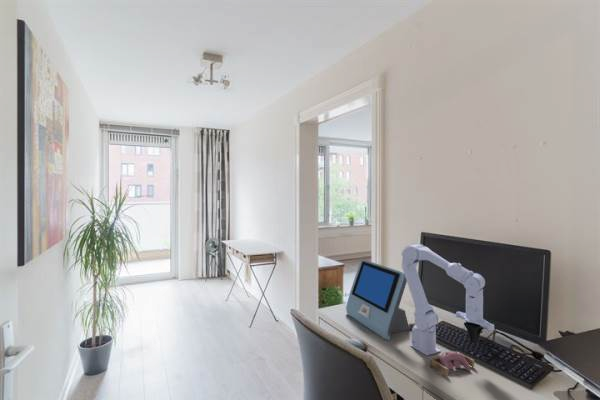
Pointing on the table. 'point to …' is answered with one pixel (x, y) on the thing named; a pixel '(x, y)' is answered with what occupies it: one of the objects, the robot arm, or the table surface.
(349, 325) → the table surface
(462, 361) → the video game controller
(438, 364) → the docking cradle
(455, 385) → the table surface
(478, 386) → the table surface
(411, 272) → the robot arm
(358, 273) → the touchscreen device
